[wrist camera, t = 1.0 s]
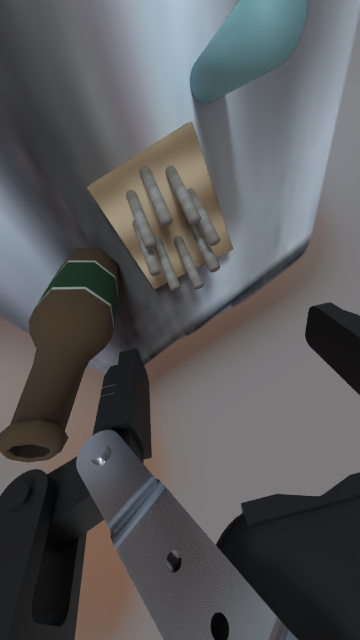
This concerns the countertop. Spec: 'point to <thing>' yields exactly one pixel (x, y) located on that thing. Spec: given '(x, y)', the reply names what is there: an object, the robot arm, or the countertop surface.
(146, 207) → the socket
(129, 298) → the countertop surface
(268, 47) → the peg
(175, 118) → the countertop surface
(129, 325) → the countertop surface
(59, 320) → the beer bottle
